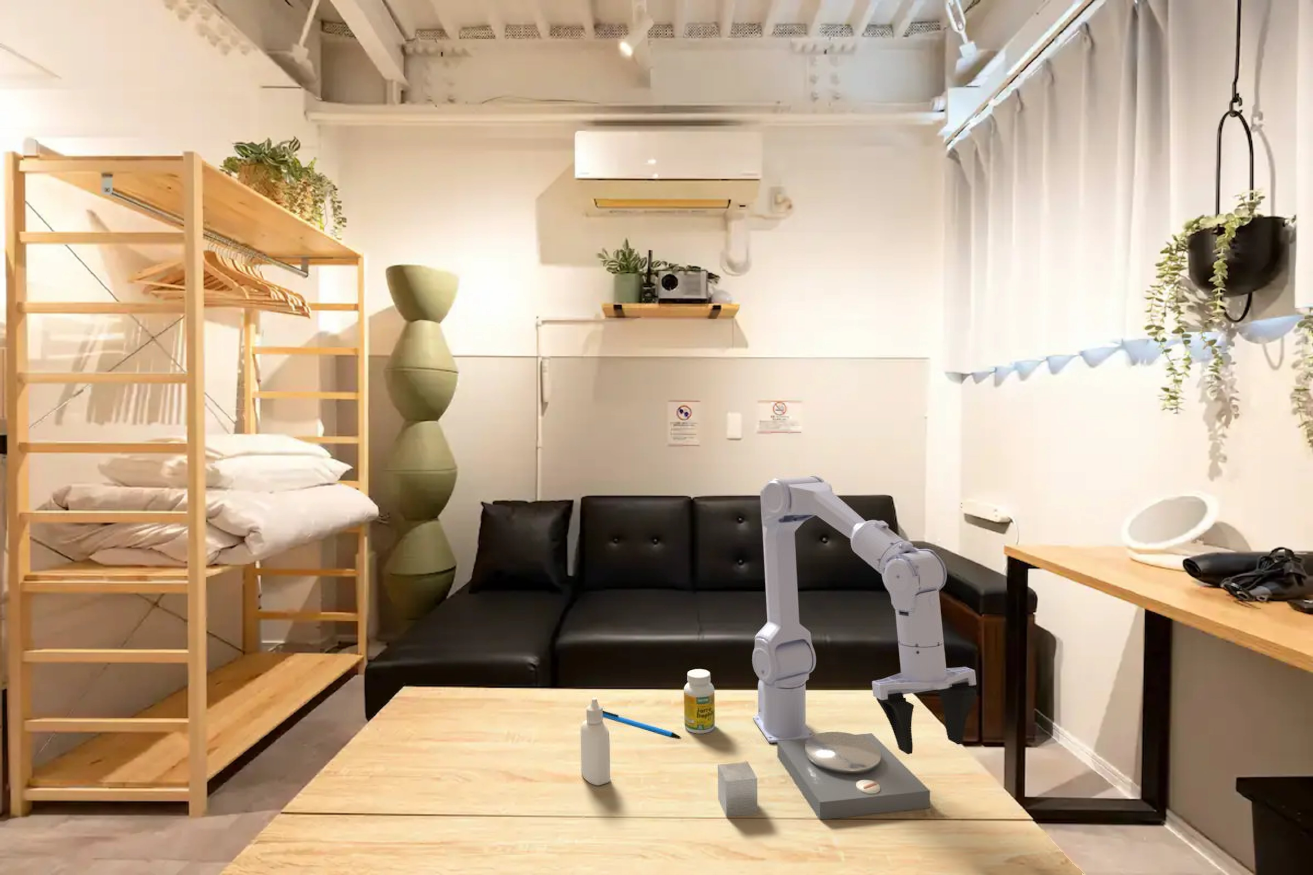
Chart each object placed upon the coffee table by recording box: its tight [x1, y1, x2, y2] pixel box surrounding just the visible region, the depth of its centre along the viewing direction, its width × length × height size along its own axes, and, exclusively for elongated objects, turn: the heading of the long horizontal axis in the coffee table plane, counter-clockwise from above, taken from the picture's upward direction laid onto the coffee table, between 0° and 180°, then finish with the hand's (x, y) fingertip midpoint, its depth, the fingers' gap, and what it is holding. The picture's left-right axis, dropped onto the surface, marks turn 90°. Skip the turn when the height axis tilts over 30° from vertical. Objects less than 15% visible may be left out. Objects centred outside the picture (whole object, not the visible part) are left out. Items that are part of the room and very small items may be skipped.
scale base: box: [776, 732, 931, 821], centre depth 100 cm, size 17×16×3 cm
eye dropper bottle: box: [580, 697, 611, 787], centre depth 101 cm, size 4×6×12 cm
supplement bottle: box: [683, 668, 716, 735], centre depth 117 cm, size 5×5×10 cm
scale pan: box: [805, 731, 881, 773], centre depth 102 cm, size 11×11×1 cm
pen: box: [603, 710, 682, 739], centre depth 119 cm, size 1×19×1 cm, turn 57°
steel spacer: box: [717, 761, 758, 818], centre depth 94 cm, size 4×4×5 cm
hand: (930, 746), depth 89 cm, fingers open, 7 cm apart
